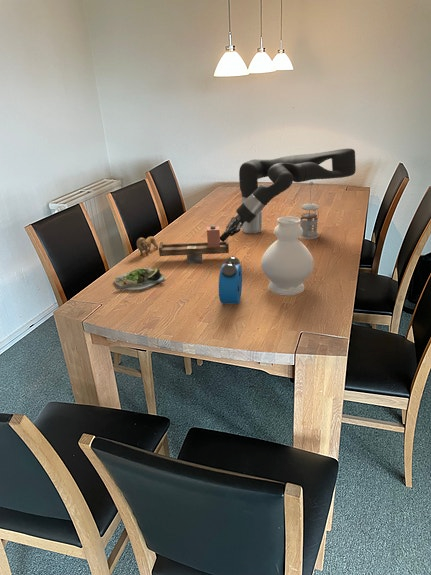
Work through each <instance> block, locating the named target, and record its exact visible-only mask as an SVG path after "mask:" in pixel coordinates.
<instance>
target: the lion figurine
mask: <svg viewBox="0 0 431 575" xmlns="http://www.w3.org/2000/svg"><path fill="white" fill-rule="evenodd" d="M156 241H157V240H156V238H155V237H154V236H148V237H147V238H144V237H139V238H138V239H137V240H136V247H137V249H138V250H139V251H140V254H139V257H143V256H144V255H143V254H144V253H143V252H144V251H145V257H149V252H150V251H151V248H152V245H153V247H155V250H157V251H159V246H158V243H157V242H156Z"/></svg>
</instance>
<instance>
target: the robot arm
mask: <svg viewBox="0 0 431 575" xmlns="http://www.w3.org/2000/svg"><path fill="white" fill-rule="evenodd" d="M327 160H331V169H332V170H330V169H328V168H327V169H326V168H325V167H324V166H322V163H324V162H326V161H327ZM356 167H357V166H356V151H355V149H353V148H341V149H340V148H339V149H335V150H329V151H323V152H316V153H307V154H293V155H287V156H281V157H278V158H273V159H250V160H247V161H245V162H243V163H242V164H241V165H240V166H239V170H238V172H239V173H238V177H239V181H238V182H239V190H240V192H241V204H240V206H238V208H236V211H235V212H236V213H237V215H236V216H233V217H232V218H231V219H230V220H229V223H228V224H227V225H226V227H225V230H224V231H223V233H222V234H221V235H220V242H225V240H226V239H228V238H229V237H230V236H231V237H232V236H235V235H236V234H237V233H239V232H241V231H242V232H243V233H245V234H257V233H262V227H263V224H262V223H263V222H262V221H263V220H262V218H263V216H262V211H263V210H264V208H265V207H266V206H267V205H268V204H269V203H271V201H272V199H274V198H276V197H277V196H278V195H281V193H283V192H285V191H287V190H288V189H289V188H290V187H291V186H292V184H293V183H294V182H295V183H302V182H308V181H312V180H327V179H329V180H330V179H342V178H348V177H351V176H353V175H355V174H356V171H357V169H356ZM262 178H268V179H269V180H270V181H271V182H272V184H271V185H267V184H265V183H262V184H260V185H259V184H258V181H259V179H262Z"/></svg>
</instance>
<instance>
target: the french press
mask: <svg viewBox="0 0 431 575" xmlns="http://www.w3.org/2000/svg"><path fill="white" fill-rule="evenodd" d="M308 185H309V186H313V185H314V182H313V181H309V183H308ZM311 195H312V189H310V192H309V200H312V199H311V197H312V196H311ZM300 208H301V209H302V210H305V211H308V213H307V212H306V213H302V214H301V215H300V216H301V217H300V218H299V219H300V223H299V226H300V227H301V228H302V230H303V233H302V235H301V236H300V238H301V239H302V238H303V239H305V240H315V239H317V237H318V238H319V234H318V219H319V217H318V216H319V208H320V206H319V205H318V204H317V203H315V202H314V203H311V202H307V203H303V204H302V205H301V206H300ZM311 211H312V212H314V213H310V212H311ZM316 211H317V214H316ZM314 238H315V239H314Z"/></svg>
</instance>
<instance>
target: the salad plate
mask: <svg viewBox="0 0 431 575" xmlns="http://www.w3.org/2000/svg"><path fill="white" fill-rule="evenodd" d="M165 281H167V279H165V275H164V274H163V273H161V271H160V269H159V268H158V267H155V268H153V269H152V268H148V267H142V268H136V269H132V270H131V271H129V272H125V273H122V274H120V275H118V276H116V277H115V278H114V280H113V283H114V284H115V285H116V287H115V290H118V291H120V290H124V291H133V292H134V291H136V292H137V291H138V292H139V291H144V290H146V289H147V290H148V289H149V288H153V287H155V286H158V285H160V284H162V283H164V282H165ZM124 282H125V283H124Z"/></svg>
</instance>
